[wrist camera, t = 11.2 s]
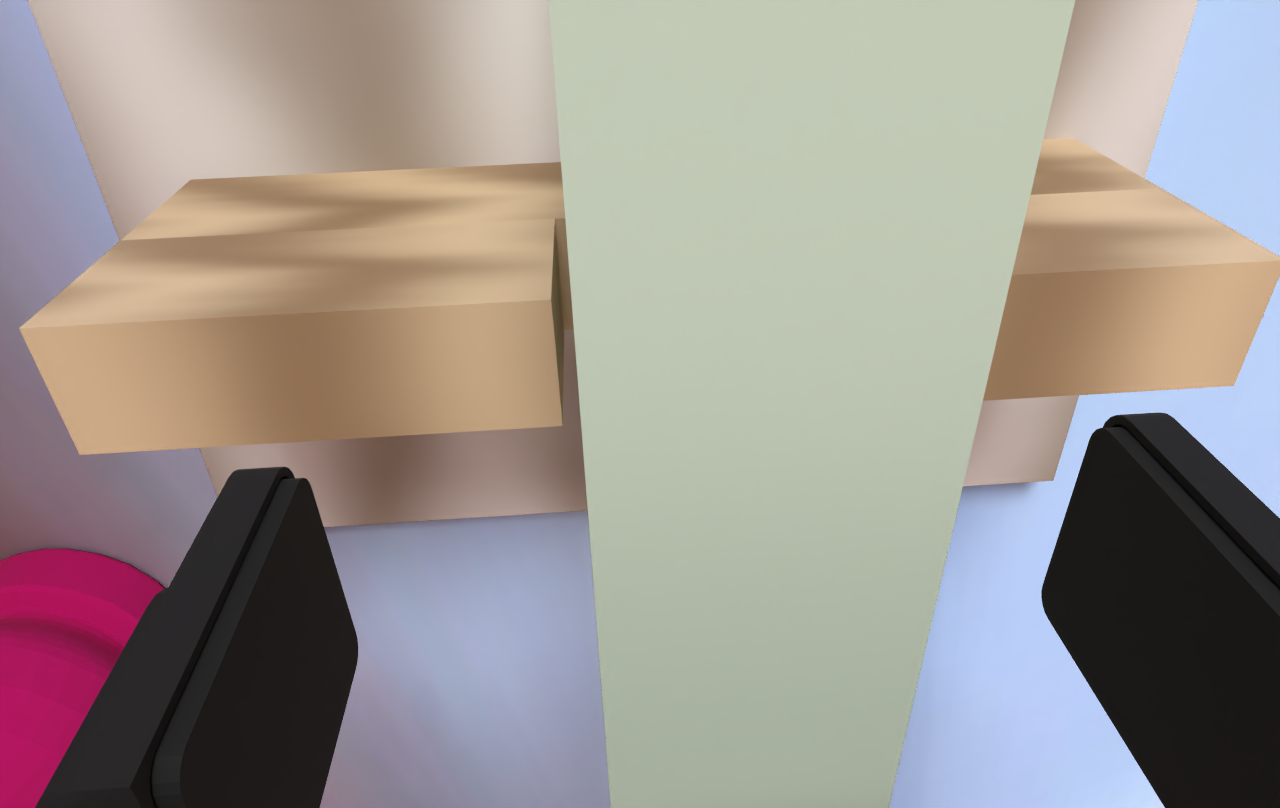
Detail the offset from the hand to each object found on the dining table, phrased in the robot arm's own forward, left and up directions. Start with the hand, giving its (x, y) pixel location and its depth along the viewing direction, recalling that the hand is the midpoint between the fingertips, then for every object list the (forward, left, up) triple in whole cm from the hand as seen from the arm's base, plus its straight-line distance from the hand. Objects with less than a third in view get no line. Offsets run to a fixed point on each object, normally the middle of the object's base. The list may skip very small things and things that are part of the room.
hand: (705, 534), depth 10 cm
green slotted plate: (0, 0, -11) cm, 11 cm away
